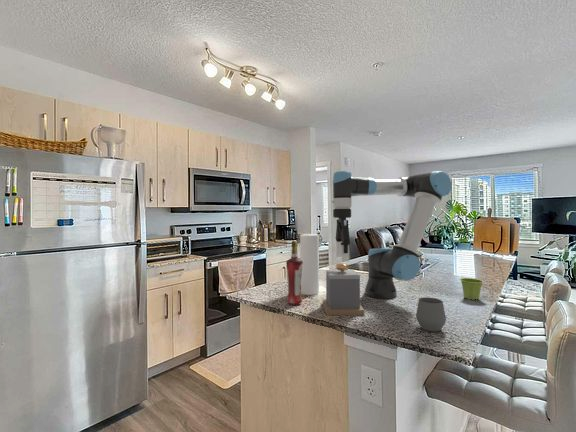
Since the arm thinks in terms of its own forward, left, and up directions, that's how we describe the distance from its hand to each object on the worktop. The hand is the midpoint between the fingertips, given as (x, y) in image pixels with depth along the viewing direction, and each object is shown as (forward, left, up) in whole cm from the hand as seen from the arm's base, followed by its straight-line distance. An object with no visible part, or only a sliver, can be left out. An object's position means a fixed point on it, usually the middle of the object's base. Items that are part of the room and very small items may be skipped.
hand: (342, 258), depth 128 cm
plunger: (0, 0, -18) cm, 18 cm away
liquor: (+20, -8, -21) cm, 30 cm away
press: (0, 0, -21) cm, 21 cm away
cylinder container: (+12, -27, -21) cm, 36 cm away
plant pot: (-64, -16, -21) cm, 69 cm away
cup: (-27, +22, -21) cm, 41 cm away
